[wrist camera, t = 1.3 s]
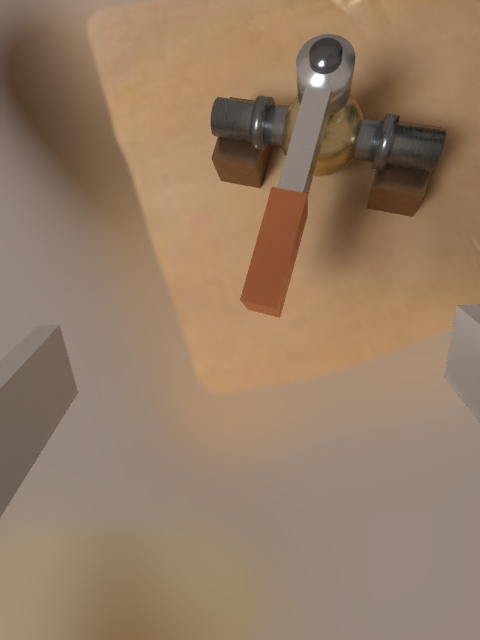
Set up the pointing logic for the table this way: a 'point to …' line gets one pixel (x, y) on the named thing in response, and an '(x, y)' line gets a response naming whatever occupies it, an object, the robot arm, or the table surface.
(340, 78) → the valve lever
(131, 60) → the table surface
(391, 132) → the valve stand
